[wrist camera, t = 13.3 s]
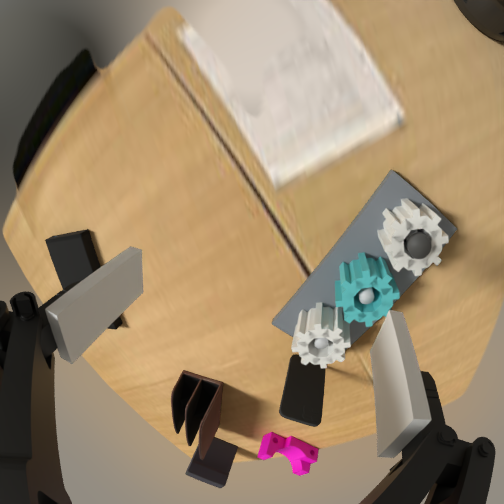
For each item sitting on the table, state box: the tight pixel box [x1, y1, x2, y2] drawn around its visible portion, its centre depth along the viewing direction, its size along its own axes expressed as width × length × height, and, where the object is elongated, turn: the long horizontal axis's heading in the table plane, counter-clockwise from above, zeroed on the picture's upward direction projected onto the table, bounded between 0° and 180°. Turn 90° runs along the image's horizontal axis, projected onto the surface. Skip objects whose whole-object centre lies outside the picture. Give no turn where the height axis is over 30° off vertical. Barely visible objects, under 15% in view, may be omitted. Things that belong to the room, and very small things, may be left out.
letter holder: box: [171, 370, 223, 460], centre depth 61 cm, size 10×20×14 cm, turn 173°
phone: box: [279, 355, 325, 427], centre depth 47 cm, size 7×1×15 cm, turn 71°
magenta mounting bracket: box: [258, 432, 319, 476], centre depth 64 cm, size 15×6×8 cm, turn 54°
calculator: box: [186, 437, 238, 488], centre depth 68 cm, size 11×4×15 cm, turn 68°
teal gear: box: [335, 252, 399, 327], centre depth 41 cm, size 9×9×6 cm
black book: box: [45, 229, 122, 329], centre depth 60 cm, size 14×23×3 cm, turn 10°
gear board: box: [272, 170, 457, 368], centre depth 41 cm, size 32×14×9 cm, turn 149°
